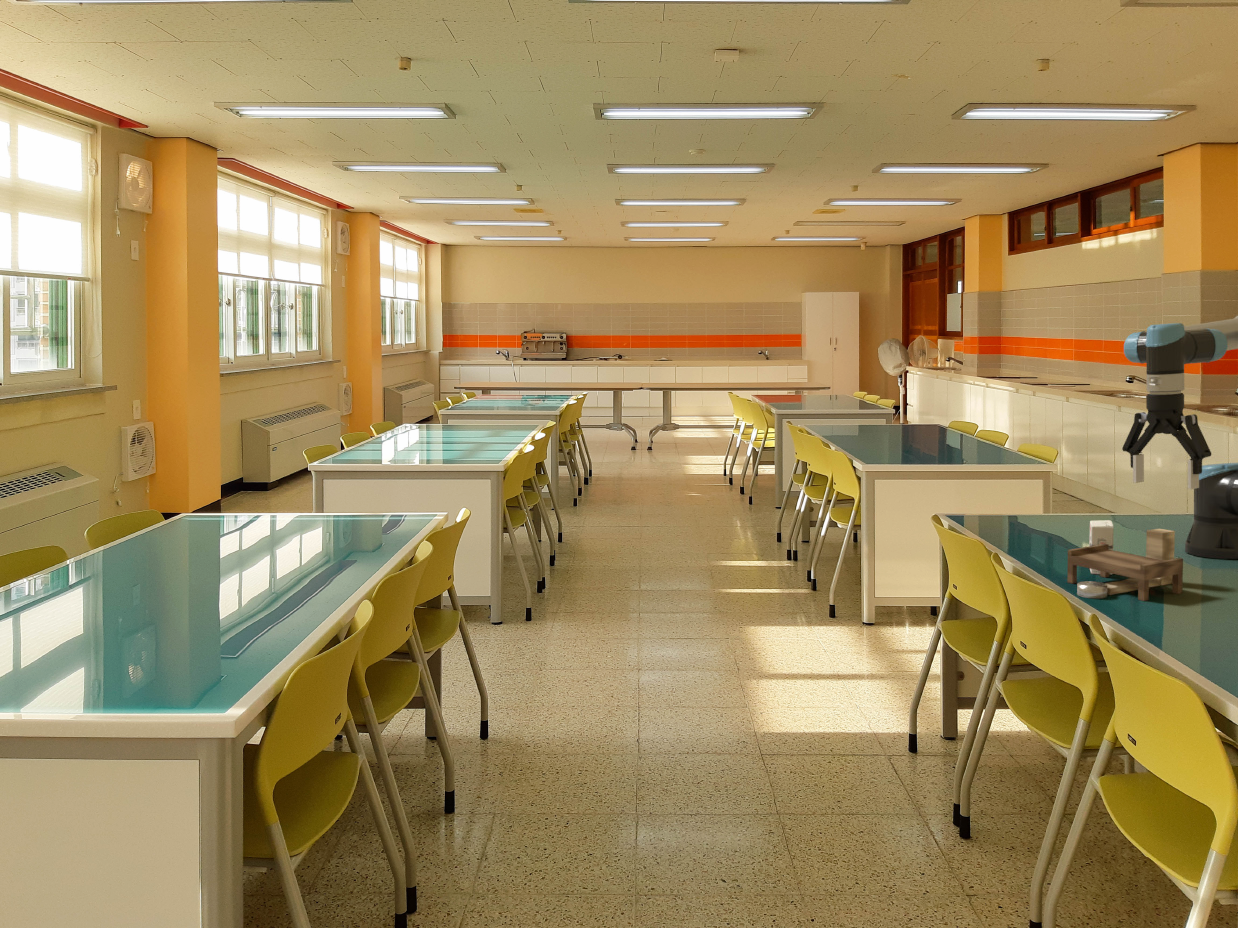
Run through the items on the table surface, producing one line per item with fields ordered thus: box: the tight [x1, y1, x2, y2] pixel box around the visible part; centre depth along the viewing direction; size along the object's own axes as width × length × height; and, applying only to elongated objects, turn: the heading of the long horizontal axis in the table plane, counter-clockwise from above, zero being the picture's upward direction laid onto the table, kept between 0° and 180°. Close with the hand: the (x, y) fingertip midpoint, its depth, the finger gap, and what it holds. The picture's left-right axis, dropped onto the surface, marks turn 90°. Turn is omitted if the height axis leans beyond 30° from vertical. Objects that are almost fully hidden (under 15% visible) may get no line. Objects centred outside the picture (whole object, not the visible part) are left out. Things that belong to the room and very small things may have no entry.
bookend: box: [1104, 528, 1176, 596], centre depth 223 cm, size 20×4×12 cm, turn 114°
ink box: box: [1088, 519, 1114, 576], centre depth 239 cm, size 9×5×12 cm, turn 158°
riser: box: [1067, 544, 1184, 602], centre depth 223 cm, size 12×20×8 cm, turn 24°
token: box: [1076, 580, 1108, 600], centre depth 218 cm, size 6×6×2 cm
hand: (1165, 485), depth 226 cm, fingers open, 13 cm apart
